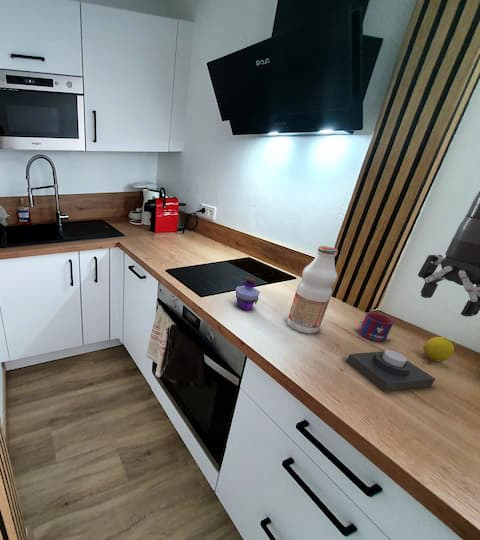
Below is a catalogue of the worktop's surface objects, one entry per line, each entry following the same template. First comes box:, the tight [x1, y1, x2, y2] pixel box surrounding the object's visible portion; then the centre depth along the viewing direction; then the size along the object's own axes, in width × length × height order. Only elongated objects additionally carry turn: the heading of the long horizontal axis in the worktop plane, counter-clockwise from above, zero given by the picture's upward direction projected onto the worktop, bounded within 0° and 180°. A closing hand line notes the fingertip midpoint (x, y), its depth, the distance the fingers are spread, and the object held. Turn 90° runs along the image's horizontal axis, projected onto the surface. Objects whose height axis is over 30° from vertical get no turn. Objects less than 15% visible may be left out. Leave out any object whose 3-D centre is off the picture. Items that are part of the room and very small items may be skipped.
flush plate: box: [346, 350, 436, 393], centre depth 76 cm, size 14×11×4 cm
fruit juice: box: [286, 245, 339, 334], centre depth 92 cm, size 9×9×28 cm
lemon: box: [423, 336, 455, 362], centre depth 81 cm, size 6×6×8 cm
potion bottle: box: [235, 276, 261, 312], centre depth 106 cm, size 9×9×12 cm
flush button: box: [382, 349, 408, 367], centre depth 75 cm, size 4×4×2 cm
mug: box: [358, 310, 395, 343], centre depth 93 cm, size 7×10×7 cm
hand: (444, 305), depth 67 cm, fingers open, 8 cm apart
